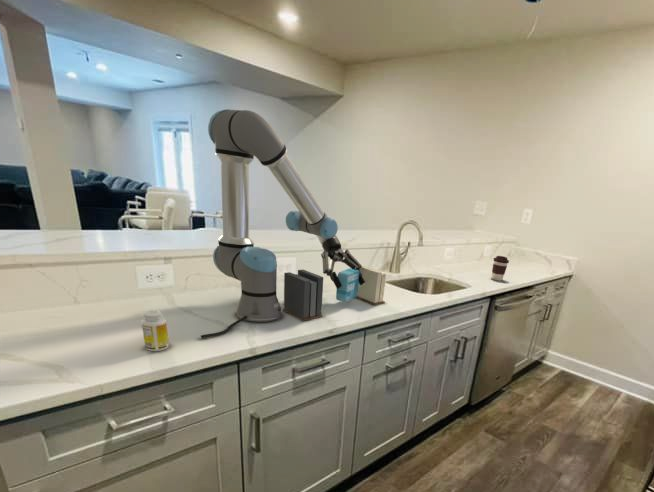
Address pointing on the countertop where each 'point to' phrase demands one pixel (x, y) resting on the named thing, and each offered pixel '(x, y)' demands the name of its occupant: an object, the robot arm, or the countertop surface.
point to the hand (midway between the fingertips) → (351, 285)
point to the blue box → (347, 285)
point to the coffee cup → (499, 267)
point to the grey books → (303, 294)
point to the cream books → (371, 286)
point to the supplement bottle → (155, 331)
